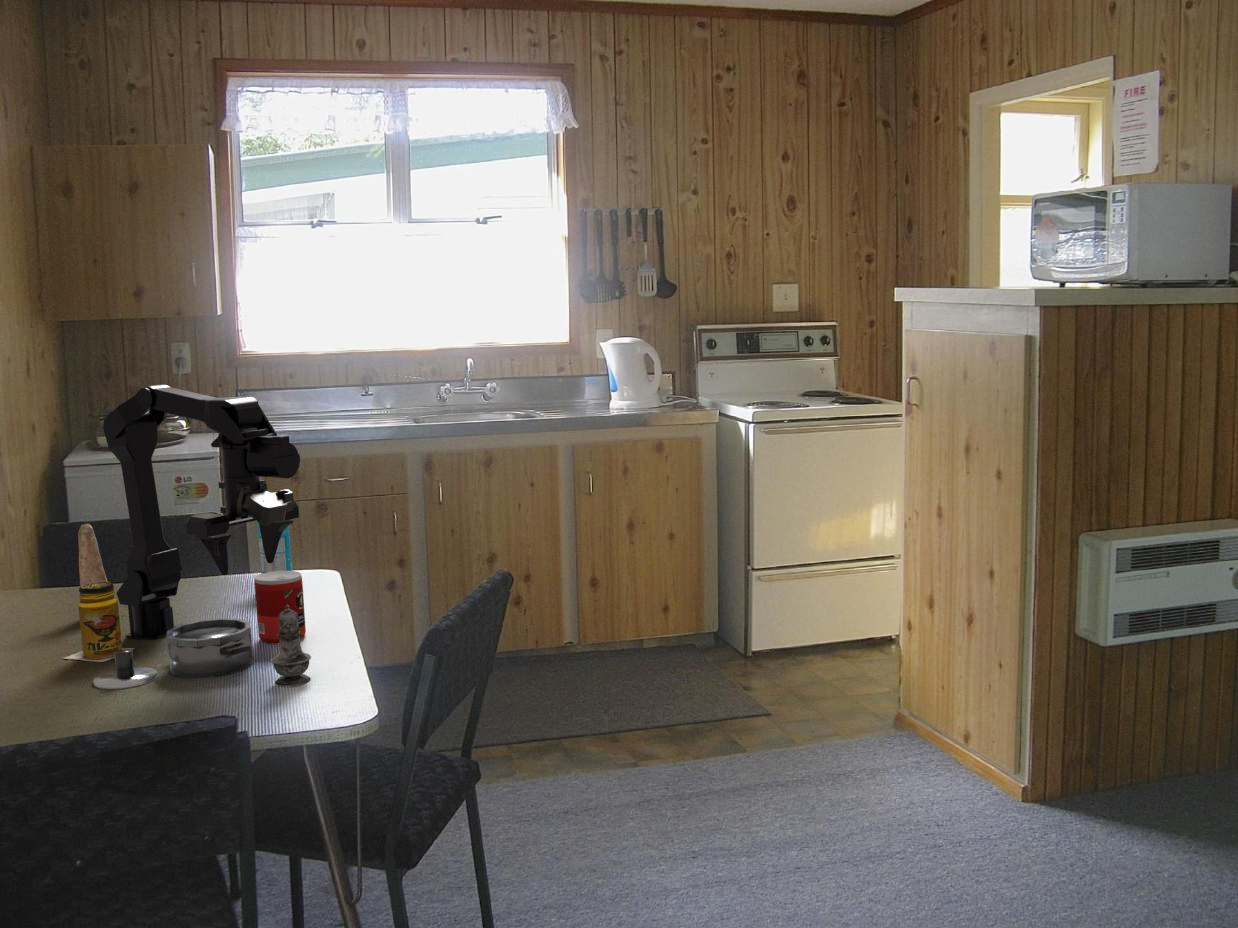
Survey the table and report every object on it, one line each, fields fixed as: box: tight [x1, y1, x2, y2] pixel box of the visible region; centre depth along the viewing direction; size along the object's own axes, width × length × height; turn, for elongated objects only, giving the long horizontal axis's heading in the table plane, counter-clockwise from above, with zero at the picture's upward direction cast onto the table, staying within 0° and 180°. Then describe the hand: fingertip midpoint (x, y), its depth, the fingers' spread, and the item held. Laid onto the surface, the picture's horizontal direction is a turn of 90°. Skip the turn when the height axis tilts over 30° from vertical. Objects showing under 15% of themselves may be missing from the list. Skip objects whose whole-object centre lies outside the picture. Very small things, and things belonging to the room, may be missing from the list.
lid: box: [93, 649, 159, 690], centre depth 190 cm, size 9×9×5 cm
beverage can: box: [256, 521, 293, 574], centre depth 245 cm, size 6×6×15 cm
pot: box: [165, 617, 254, 679], centre depth 195 cm, size 18×13×6 cm
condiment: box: [62, 581, 136, 663], centre depth 204 cm, size 7×8×12 cm
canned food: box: [254, 570, 307, 645], centre depth 210 cm, size 8×8×11 cm
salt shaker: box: [270, 604, 312, 688], centre depth 185 cm, size 6×6×12 cm
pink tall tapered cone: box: [77, 523, 109, 588], centre depth 228 cm, size 6×18×6 cm
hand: (247, 568), depth 202 cm, fingers open, 9 cm apart
